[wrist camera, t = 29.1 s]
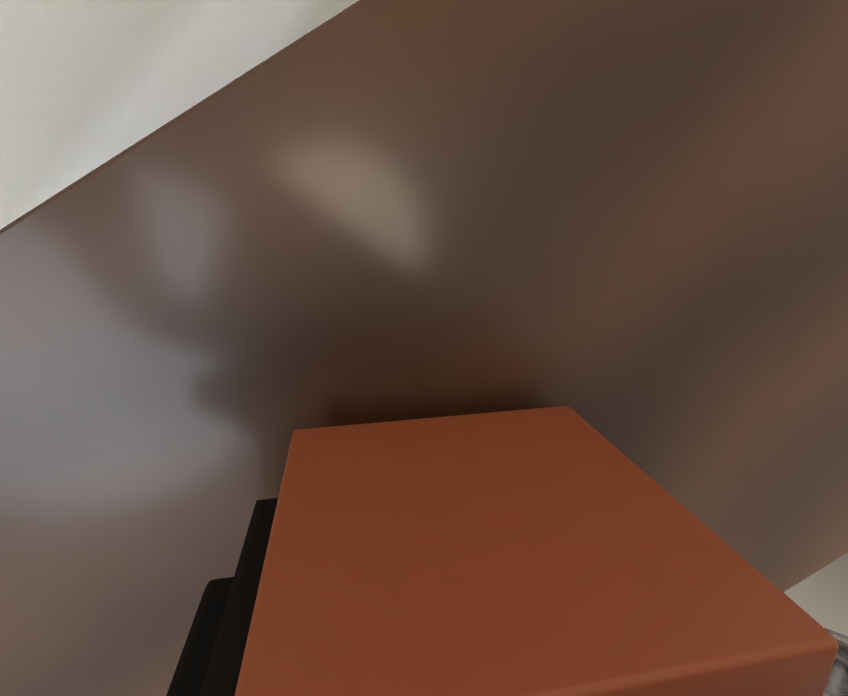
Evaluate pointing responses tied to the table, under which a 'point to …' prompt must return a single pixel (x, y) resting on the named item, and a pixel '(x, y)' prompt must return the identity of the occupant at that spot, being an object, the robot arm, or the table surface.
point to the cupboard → (428, 294)
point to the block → (507, 573)
